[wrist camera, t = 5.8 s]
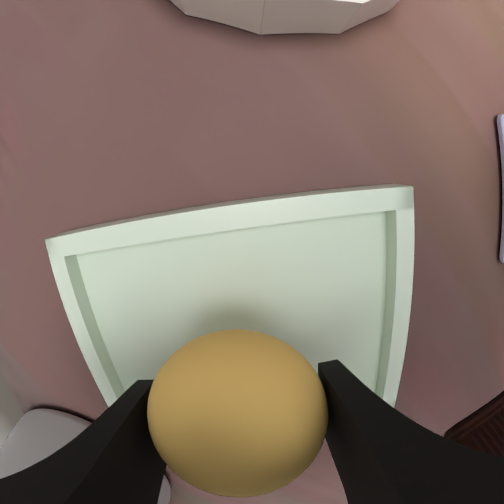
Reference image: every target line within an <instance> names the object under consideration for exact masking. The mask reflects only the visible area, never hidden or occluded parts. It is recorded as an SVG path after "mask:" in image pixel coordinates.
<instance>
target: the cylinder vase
mask: <svg viewBox="0 0 504 504" xmlns="http://www.w3.org/2000/svg"><path fill="white" fill-rule="evenodd" d="M90 424H92V423H91V422H89V421H87V420H84V419H82V418H79V417H77V416H74V415H71V414H68V413H65V412H62V411H57V410H52V409H34V410H30V411H28V412H26V413H25V414H24V415H23V416H22V417H21V419H20V420H19V421H18V423H17V424H16V426H15V427H14V429H13V430H12V432H11V433H10V435H9V436H8V437H7V439H6V441H5V442H4V443H3V445H2V446H1V448H0V479H1V478H4V477H7V476H9V475H12V474H15V473H17V472H19V471H22V470H24V469H26V468H28V467H30V466H32V465H34V464H35V463H37V462H39V461H41V460H43V459H45V458H47V457H48V456H50V455H51V454H53V453H54V452H56V451H57V450H59V449H60V448H62V447H63V446H65V445H66V444H67V443H69V442H70V441H71V440H73V439H74V438H75V437H76V436H78V435H79V434H80V433H81V432H82V431H84V430H85V429H86V428H87V427H88V426H89V425H90ZM170 496H171V488H170V484H169V482H168V480H167V478H166V476H165V475H164V477H163V481H162V485H161V490H160V494H159V498H158V504H169V502H170Z"/></svg>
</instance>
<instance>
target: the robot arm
mask: <svg viewBox="0 0 504 504" xmlns="http://www.w3.org/2000/svg"><path fill="white" fill-rule="evenodd" d="M497 126H498V134H499V142H500V153H501V166H502V193H503V205H502V232H501V246H500V262H501V263H503V264H504V114H499V115H498V117H497ZM318 376H319V378H320V380H321V383H322V385H323V388H324V390H325V394H326V398H327V404H328V425H327V431H326V435H325V438H326V441H327V443H328V446H329V449H330V452H331V454H332V457H333V460H334V462H335V465H336V468H337V471H338V473H339V476H340V479H341V481H342V484H343V487H344V490H345V493H346V497H347V500H348V504H504V457H502V456H497V455H493V454H489V453H485V452H482V451H478V450H475V449H472V448H469V447H467V446H464V445H461V444H459V443H456V442H454V441H451V440H449V439H446V438H444V437H442V436H440V435H438V434H436V433H434V432H432V431H430V430H428V429H426V428H424V427H423V426H421V425H419V424H417V423H416V422H414V421H413V420H411V419H409V418H408V417H406V416H405V415H403V414H402V413H400V412H399V411H398V410H396V409H395V408H393V407H392V406H391V405H389V404H388V403H387V402H385V401H384V400H383V399H382V398H380V397H379V396H378V395H377V394H375V393H374V392H373V391H372V390H371V389H369V388H368V387H367V386H366V385H365V384H364V383H363V382H361V381H360V380H359V379H358V378H357V377H356V376H355V375H354V374H353V373H352V372H351V371H350V370H349V369H348V368H346V367H345V366H344V365H343V364H342V363H341V362H340V361H339V360H338V359H336V360H331V361H326V362H321V363H318ZM153 381H154V380H137V381H136V382H135V383H134V384H133V385H131V386H130V387H129V388H128V389H127V390H126V391H125V392H124V393H123V394H122V395H121V396H120V397H119V398H118V399H117V400H116V401H115V402H114V403H113V404H112V405H111V406H110V407H109V408H108V409H107V410H106V411H105V412H104V413H103V414H102V415H101V416H99V417H98V418H97V419H96V420H95V421H94V422H93V423H92V424H90V425H89V426H88V427H87V428H86V429H85V430H84V431H82V432H81V433H80V434H79V435H78V436H76V437H75V438H74V439H73V440H71V441H70V442H69V443H67V444H66V445H65V446H63V447H62V448H60V449H59V450H57V451H56V452H54V453H53V454H51V455H50V456H48V457H47V458H45V459H43V460H41V461H39V462H37V463H35V464H34V465H32V466H30V467H28V468H26V469H24V470H22V471H19V472H17V473H15V474H12V475H9V476H7V477H4V478H1V479H0V504H158V498H159V494H160V490H161V485H162V481H163V477H164V473H165V469H166V463H165V462H164V460H163V459H162V458H161V456H160V454H159V453H158V451H157V449H156V447H155V446H154V443H153V440H152V437H151V434H150V431H149V426H148V418H147V406H148V397H149V393H150V390H151V387H152V383H153Z"/></svg>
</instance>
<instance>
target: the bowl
mask: <svg viewBox="0 0 504 504" xmlns="http://www.w3.org/2000/svg"><path fill="white" fill-rule="evenodd" d="M170 1H171V2H172V3H174V4H175V5H176V6H177V7H178V8H179V9H180V10H181V11H182V12H183V13H184V14H186V15H190V16H194V17H199V18H203V19H207V20H211V21H215V22H219V23H223V24H227V25H230V26H234V27H237V28H240V29H244V30H247V31H250V32H253V33H256V34H259V35H266V34H285V33H329V34H340V33H342V32H344V31H346V30H348V29H350V28H352V27H354V26H356V25H359V24H361V23H363V22H365V21H367V20H370V19H372V18H374V17H377V16H379V15H381V14H384V13H386V12H388V11H389V10H390V9H391V8H392V7H393V6H394V5H395V4H397V3H398V2H399V1H400V0H170Z"/></svg>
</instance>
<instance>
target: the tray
mask: <svg viewBox="0 0 504 504" xmlns="http://www.w3.org/2000/svg"><path fill="white" fill-rule="evenodd" d="M45 243H46V247H47V251H48V255H49V259H50V262H51V266H52V270H53V273H54V277H55V280H56V283H57V286H58V290H59V293H60V296H61V299H62V302H63V305H64V308H65V311H66V313H67V316H68V319H69V322H70V324H71V327H72V329H73V332H74V334H75V337H76V339H77V342H78V344H79V347H80V349H81V351H82V354H83V356H84V358H85V360H86V363H87V365H88V367H89V369H90V371H91V373H92V376H93V378H94V380H95V382H96V384H97V386H98V388H99V390H100V392H101V394H102V395H103V397H104V399H105V401H106V403H107V405H108V407H110V406H111V405H112V404H113V403H114V402H115V401H116V400H117V399H118V398H119V397H120V396H121V395H122V394H123V393H124V392H125V391H126V390H127V389H128V388H129V387H130V386H131V385H133V384H134V383H135V382H136V381H137V380H154V379H155V377H156V375H157V374H158V372H159V370H160V368H161V367H162V366H163V364H164V363H165V362H166V361H167V360H168V358H169V357H170V356H171V355H172V354H173V353H174V352H176V351H177V350H178V349H179V348H181V347H182V346H183V345H185V344H187V343H188V342H190V341H192V340H194V339H196V338H198V337H200V336H203V335H206V334H209V333H212V332H217V331H221V330H231V329H241V330H251V331H256V332H261V333H264V334H267V335H270V336H273V337H275V338H277V339H279V340H281V341H283V342H285V343H287V344H288V345H290V346H292V347H293V348H294V349H295V350H296V351H298V352H299V353H300V354H301V355H302V356H304V357H305V359H306V360H307V361H308V362H309V363H310V364H311V366H312V367H313V368H314V370H315V371H316V373H317V375H318V363H321V362H326V361H331V360H336V359H338V360H339V361H340V362H341V363H342V364H343V365H344V366H345V367H346V368H348V369H349V370H350V371H351V372H352V373H353V374H354V375H355V376H356V377H357V378H358V379H359V380H360V381H361V382H363V383H364V384H365V385H366V386H367V387H368V388H369V389H371V390H372V391H373V392H374V393H375V394H377V395H378V396H379V397H380V398H382V399H383V400H384V401H385V402H387V403H388V404H389V405H391V406H392V407H393V408H394V406H395V401H396V397H397V392H398V388H399V383H400V378H401V373H402V367H403V361H404V356H405V349H406V343H407V335H408V328H409V319H410V310H411V299H412V287H413V270H414V195H413V186H407V185H400V184H383V185H370V186H358V187H346V188H335V189H325V190H315V191H306V192H297V193H288V194H280V195H272V196H264V197H256V198H249V199H242V200H234V201H227V202H221V203H214V204H207V205H201V206H195V207H189V208H183V209H177V210H171V211H165V212H159V213H154V214H148V215H143V216H137V217H132V218H127V219H122V220H117V221H112V222H107V223H102V224H97V225H92V226H88V227H83V228H79V229H74V230H70V231H65V232H62V233H60V234H57V235H55V236H53V237H50V238H48V239H46V240H45Z"/></svg>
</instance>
